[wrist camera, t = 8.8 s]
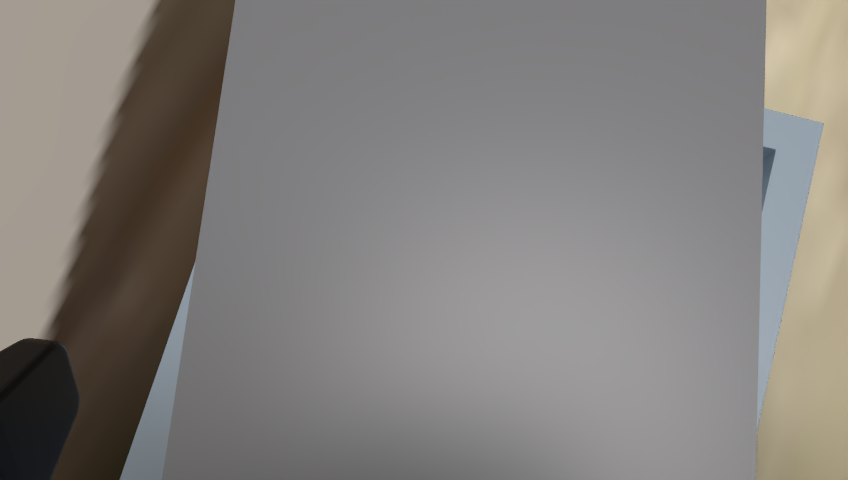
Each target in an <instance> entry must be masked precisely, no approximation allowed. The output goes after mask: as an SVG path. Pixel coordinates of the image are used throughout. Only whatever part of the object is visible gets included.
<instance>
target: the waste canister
mask: <svg viewBox="0 0 848 480" xmlns="http://www.w3.org/2000/svg"><path fill="white" fill-rule="evenodd" d="M765 39H766V0H236V1H235V8H234V14H233V21H232V27H231V34H230V40H229V47H228V53H227V60H226V66H225V73H224V79H223V86H222V92H221V99H220V105H219V112H218V118H217V125H216V131H215V138H214V144H213V151H212V157H211V164H210V170H209V177H208V183H207V190H206V196H205V203H204V209H203V216H202V222H201V229H200V235H199V242H198V248H197V255H196V261H195V268H194V274H193V281H192V287H191V294H190V300H189V307H188V313H187V320H186V326H185V333H184V339H183V346H182V352H181V359H180V365H179V372H178V378H177V385H176V391H175V398H174V404H173V411H172V417H171V424H170V430H169V437H168V443H167V450H166V456H165V463H164V469H163V476H162V480H756V446H757V401H758V356H759V311H760V265H761V220H762V175H763V129H764V84H765Z"/></svg>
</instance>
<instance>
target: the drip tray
mask: <svg viewBox="0 0 848 480" xmlns="http://www.w3.org/2000/svg"><path fill="white" fill-rule="evenodd" d="M823 125H824V123H821V122H817V121H813V120H809V119H805V118H801V117H797V116H793V115H789V114H785V113H781V112H777V111H773V110H769V109H765V108H764V129H763V175H762V220H761V265H760V311H759V356H758V401H757V429H758V425H759V420H760V416H761V411H762V406H763V402H764V397H765V393H766V388H767V383H768V379H769V374H770V369H771V365H772V360H773V356H774V351H775V346H776V342H777V337H778V332H779V328H780V323H781V319H782V314H783V309H784V305H785V300H786V296H787V291H788V286H789V282H790V277H791V272H792V268H793V263H794V259H795V254H796V249H797V245H798V240H799V235H800V231H801V226H802V222H803V217H804V212H805V208H806V203H807V199H808V194H809V189H810V185H811V180H812V175H813V171H814V166H815V162H816V157H817V152H818V148H819V143H820V138H821V134H822V129H823ZM194 268H195V264H194V267H193V270H192V273H191V276H190V279H189V282H188V285H187V287H186V290H185V293H184V296H183V299H182V302H181V305H180V308H179V310H178V313H177V316H176V319H175V322H174V325H173V328H172V331H171V333H170V336H169V339H168V342H167V345H166V348H165V351H164V354H163V357H162V359H161V362H160V365H159V368H158V371H157V374H156V377H155V380H154V382H153V385H152V388H151V391H150V394H149V397H148V400H147V403H146V405H145V408H144V411H143V414H142V417H141V420H140V423H139V426H138V428H137V431H136V434H135V437H134V440H133V443H132V446H131V449H130V451H129V454H128V457H127V460H126V463H125V466H124V469H123V472H122V474H121V477H120V480H162V476H163V469H164V463H165V456H166V450H167V443H168V437H169V430H170V424H171V417H172V411H173V404H174V398H175V391H176V385H177V378H178V372H179V365H180V359H181V352H182V346H183V339H184V333H185V326H186V320H187V313H188V307H189V300H190V294H191V287H192V281H193V274H194Z"/></svg>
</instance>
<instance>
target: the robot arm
mask: <svg viewBox="0 0 848 480" xmlns="http://www.w3.org/2000/svg"><path fill="white" fill-rule="evenodd" d="M78 408H79V391H78V388H77V384H76V381H75V377H74V374H73V370H72V367H71V363H70V360H69V356H68V353H67V350H66V348H65V347H64V345H63V344H62V343H60V342H58V341H53V340H43V339H33V338H28V339H23V340H20V341H18V342H16V343H14V344H13V345H11V346H9V347H7V348H5V349H4V350H2V351H0V480H51V478H52V475H53V473H54V470H55V468H56V465H57V463H58V460H59V458H60V455H61V453H62V450H63V448H64V445H65V443H66V440H67V438H68V435H69V433H70V430H71V428H72V425H73V423H74V420H75V418H76V415H77V412H78Z"/></svg>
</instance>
